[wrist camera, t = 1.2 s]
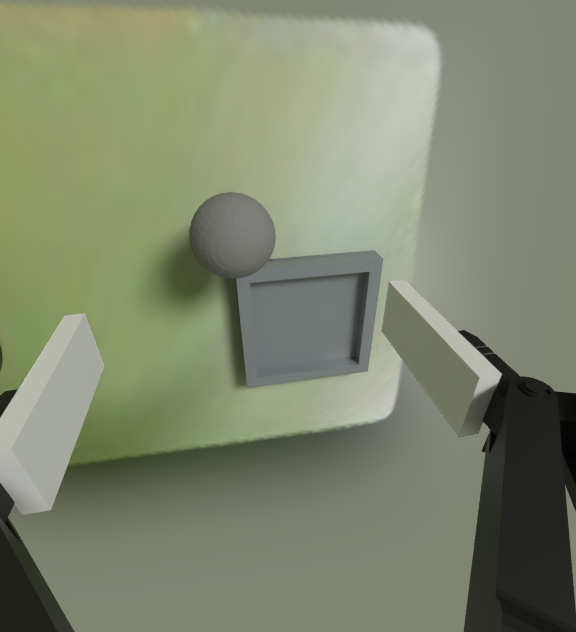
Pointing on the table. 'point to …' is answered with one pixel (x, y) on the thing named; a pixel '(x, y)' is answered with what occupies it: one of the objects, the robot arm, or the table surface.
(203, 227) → the grey light bulb
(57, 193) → the table surface
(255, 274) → the dish
